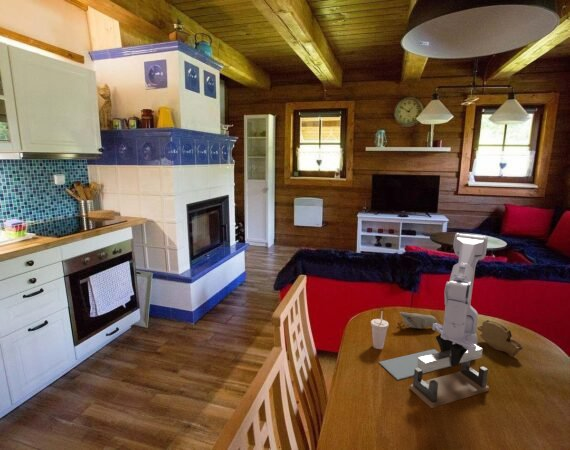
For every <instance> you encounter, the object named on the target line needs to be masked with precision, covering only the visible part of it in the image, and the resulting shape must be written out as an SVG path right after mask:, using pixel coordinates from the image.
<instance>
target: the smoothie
mask: <svg viewBox="0 0 570 450" xmlns="http://www.w3.org/2000/svg"><path fill="white" fill-rule="evenodd" d="M383 312H384V311H381V313H380V318H374V319H372V320H370V326H371V332H372V333H371V336H372V347H373V349H377V350H383V349H384V345H385V341H386V338H387V337H386V336H387V331H388V328H389V325H390V324H389V322H388V321H387V320H385V319H383V317H384V316H383V315H384V314H383Z"/></svg>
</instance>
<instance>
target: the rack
mask: <svg viewBox="0 0 570 450" xmlns="http://www.w3.org/2000/svg"><path fill="white" fill-rule="evenodd" d="M460 365H461V366H460V371H456V372H453V373H449V374H445V375H441V376H439V377H434V378H431V379H430V378H429V379H427V380H423V374H422V373H423V371H422V370H421V369H420V368H415V371H414V376H413V381H412V384H409V389H410V390H411V391H412V392H413V393H414V394H416V396H417V397H418V398H419V399H421V400H422V402H424V403H425V404H426V405H427V406H429V408H430V409H432V408H433V409H434V408H436V407H440V406H443V405H447V404H449V403H453V402H456V401H459V400H462V399H466V398H469V397H473V396H476V395H479V394H482V393H486V392H489V390H490V386H489V385H487V380H488V371H489V369H488V368H487V367H485V366H480V367H479V369H478V371H477V370H475V369H474V368H473V367H471V360H470V361H467V362H463V363H461V364H460Z"/></svg>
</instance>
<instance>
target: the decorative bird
mask: <svg viewBox="0 0 570 450" xmlns="http://www.w3.org/2000/svg"><path fill="white" fill-rule="evenodd" d="M399 315H400V316H401V318H402V321H401V322H398V320H397V325H398V326H399V328H400V330H401V331H403V327H405V326H406V327H409V328H413V329H420V330H421V329H422V330H423V329H424V328H428V327H431V328H432V326H433V324H434V323H438V320H437V319H436V317H435V316H434V315H431V314H422V313H414V312H413V313H409V312H407V311H406V312H405V311H399ZM402 323H404V324H403V325H401V324H402Z"/></svg>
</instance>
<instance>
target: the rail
mask: <svg viewBox="0 0 570 450" xmlns="http://www.w3.org/2000/svg"><path fill="white" fill-rule="evenodd" d="M474 345H475V344H474ZM438 352H439V353H435V354H430V355H426V356H422V357H418V365H417V367H418V368H420V369H421V370H422V371H423V372H428V371H431V372H433V371H432V370H435V371H437V370H436V369H439V370H441V369H440V368H443V369H445V368H444V367H447V366H451V350H447V351H443V352H441V351H438ZM482 357H483V348H482V347H480V345H478V344H477V345H476V352H474V353H469V352H468V350H467V351H466V352H465V353H464V355H463V356H462V358H461V360H460V362H459V364H462V363H463V362H467V361H470V362H471V361H473V360H477V359H481V358H482ZM451 367H452V366H451ZM447 368H448V367H447ZM428 373H429V372H428Z"/></svg>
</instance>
